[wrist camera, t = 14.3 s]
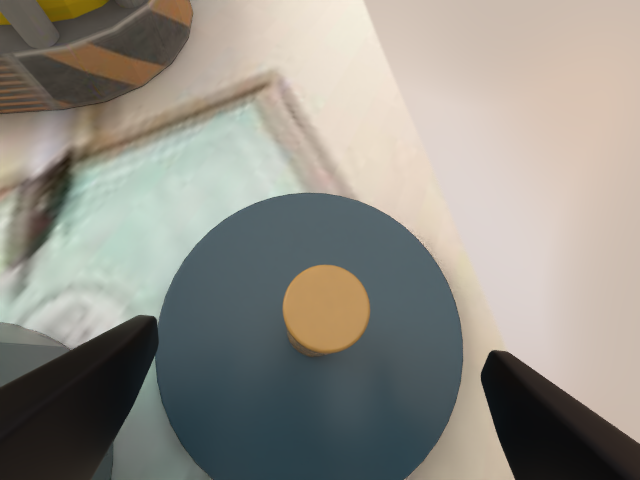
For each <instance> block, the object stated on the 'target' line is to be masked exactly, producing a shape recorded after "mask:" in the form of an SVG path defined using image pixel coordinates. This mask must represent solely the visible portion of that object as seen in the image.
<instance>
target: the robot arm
mask: <svg viewBox="0 0 640 480" xmlns="http://www.w3.org/2000/svg"><path fill="white" fill-rule="evenodd" d="M158 345H159V337H158V327H157V320H156V318H155V317H154V316H147V315H138V316H136V317H134V318H132V319H130V320H128V321H126V322H124V323H122V324H120V325H118V326H116V327H114V328H113V329H111V330H109V331H107V332H105V333H103V334H101V335H99V336H97V337H95V338H93V339H91V340H89V341H88V342H86V343H84V344H82V345H80V346H78V347H76V348H74V349H72V350H70V351H68V352H66V353H65V354H63V355H61V356H59V357H57V358H55V359H53V360H51V361H49V362H47V363H45V364H43V365H41V366H40V367H38V368H36V369H34V370H32V371H30V372H28V373H26V374H24V375H22V376H20V377H18V378H16V379H15V380H13V381H11V382H9V383H7V384H5V385H3V386H1V387H0V480H92V478H93V476H94V474H95V473H96V471H97V469H98V467H99V465H100V464H101V462H102V460H103V458H104V457H105V455H106V453H107V451H108V449H109V448H110V446H111V444H112V442H113V441H114V439H115V437H116V435H117V433H118V432H119V430H120V428H121V426H122V425H123V423H124V421H125V419H126V417H127V416H128V414H129V412H130V410H131V408H132V406H133V404H134V402H135V400H136V398H137V396H138V393H139V391H140V389H141V386H142V384H143V382H144V380H145V377H146V375H147V373H148V370H149V368H150V366H151V363H152V361H153V359H154V356H155V354H156V352H157V349H158ZM481 382H482V386H483V389H484V392H485V396H486V399H487V402H488V406H489V409H490V412H491V416H492V419H493V422H494V426H495V429H496V432H497V435H498V438H499V441H500V443H501V446H502V448H503V451H504V453H505V456H506V458H507V461H508V463H509V466H510V468H511V470H512V473H513V475H514V478H515V480H640V444H639V443H637V442H636V441H635V440H633V439H632V438H630V437H629V436H628V435H626V434H625V433H623V432H622V431H620V430H619V429H618V428H616V427H615V426H613V425H612V424H610V423H609V422H608V421H606V420H604V419H603V418H602V417H600V416H599V415H598V414H596V413H595V412H593V411H592V410H590V409H589V408H588V407H586V406H585V405H583V404H582V403H580V402H579V401H578V400H576V399H575V398H573V397H572V396H570V395H569V394H567V393H566V392H565V391H563V390H562V389H560V388H559V387H557V386H556V385H555V384H553V383H552V382H550V381H549V380H547V379H546V378H545V377H543V376H542V375H540V374H539V373H537V372H536V371H535V370H533V369H532V368H530V367H529V366H527V365H526V364H525V363H523V362H522V361H520V360H519V359H518V358H516V357H515V356H513V355H512V354H510V353H509V352H506V351H497V350H493V351H491V352H490V353H489V355H488V357H487V360H486V362H485V364H484V367H483V369H482V372H481Z"/></svg>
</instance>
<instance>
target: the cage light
mask: <svg viewBox="0 0 640 480" xmlns="http://www.w3.org/2000/svg"><path fill="white" fill-rule="evenodd" d="M192 16H193V11H192V7H191V3H190V0H0V113H14V112H29V111H44V110H59V109H67V108H73V107H78V106H84V105H89V104H94V103H100V102H105V101H108V100H110V99H113V98H115V97H117V96H120V95H122V94H124V93H127V92H129V91H131V90H133V89H136V88H138V87H140V86H143V85H144V84H146V83H147V82H148V81H149V80H151V79H152V78H153V77H155V76H156V75H157V74H158V73H160V72H161V71H162V70H163V69H165V68H166V67H167V66H169V65H170V64H171V63H172V62H173V60H174V59H175V57H176V56H177V54H178V53H179V51H180V50H181V48H182V47H183V45H184V44H185V42H186V41H187V39H188V37H189V32H190V27H191V22H192Z"/></svg>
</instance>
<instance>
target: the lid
mask: <svg viewBox="0 0 640 480" xmlns="http://www.w3.org/2000/svg"><path fill="white" fill-rule="evenodd" d="M158 337H159V345H158V349H157V352H156V354H155V361H156V372H157V382H158V386H159V390H160V395H161V399H162V403H163V406H164V408H165V411H166V414H167V416H168V419H169V421H170V424H171V426H172V428H173V430H174V431H175V433H176V435H177V437H178V439H179V440H180V442H181V444H182V445H183V447H184V448H185V449H186V451H187V452H188V453H189V455H190V456H191V457H192V458H193V460H194V461H195V462H196V464H197V465H198V466H199V467H200V468H202V469H203V470H204V471H205V472H206V473H207V474H208V475H209V476H210V477H211V478H212V479H213V480H404V479H405V478H406V477H408V476H409V475H410V474H411V473H412V472H413V471H414V470H415V469H416V468H417V467H418V466H419V465H420V464H421V463H422V462H423V461H424V459H425V458H426V457H427V455H428V454H429V453H430V451H431V450H432V449H433V447H434V446H435V444H436V443H437V442H438V440H439V438H440V436H441V434H442V432H443V431H444V429H445V427H446V425H447V423H448V421H449V418H450V416H451V413H452V410H453V408H454V405H455V403H456V399H457V395H458V390H459V386H460V382H461V374H462V364H463V339H462V332H461V325H460V319H459V315H458V311H457V307H456V303H455V300H454V298H453V295H452V292H451V290H450V287H449V285H448V283H447V281H446V279H445V277H444V275H443V273H442V271H441V269H440V268H439V266H438V264H437V263H436V262H435V260H434V259H433V257H432V256H431V254H430V253H429V251H428V250H427V249H426V248H425V247H424V246H423V245H422V244H421V242H420V241H419V240H418V239H417V238H416V237H415V236H414V235H413V234H412V233H411V232H409V231H408V230H407V229H406V228H405V227H404V226H403V225H401V224H400V223H398V222H397V221H396V220H394V219H393V218H391V217H390V216H389V215H387V214H385V213H383V212H381V211H379V210H378V209H376V208H374V207H372V206H369V205H367V204H364V203H362V202H359V201H357V200H353V199H349V198H346V197H342V196H337V195H330V194H324V193H298V194H288V195H283V196H278V197H273V198H270V199H267V200H264V201H260V202H257V203H255V204H253V205H250V206H248V207H246V208H244V209H242V210H240V211H238V212H236V213H235V214H233V215H231V216H230V217H228V218H226V219H225V220H223V221H222V222H221V223H220V224H218V225H217V226H216V227H215V228H213V229H212V230H211V231H210V232H209V233H208V234H207V235H206V236H205V237H204V238H203V239H202V240H201V241H200V242H199V243H198V244H197V245H196V246H195V247H194V248H193V250H192V251H191V252H190V253H189V255H188V256H187V257H186V259H185V260H184V261H183V263H182V265H181V266H180V268H179V270H178V271H177V273H176V275H175V276H174V278H173V281H172V283H171V285H170V287H169V290H168V292H167V294H166V297H165V300H164V303H163V306H162V310H161V313H160V317H159V323H158Z"/></svg>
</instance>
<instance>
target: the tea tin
mask: <svg viewBox="0 0 640 480" xmlns="http://www.w3.org/2000/svg"><path fill="white" fill-rule="evenodd" d="M68 351H70V350H69V349H68V348H67V347H66V346H64V345H63V344H61V343H59V342H58V341H56V340H54V339H52V338H50V337H49V336H46V335H43V334H41V333H38V332H35V331H33V330H28V329H25V328H23V327H21V326H19V325H15V324H9V323H2V322H0V387H1V386H3V385H5V384H7V383H9V382H11V381H13V380H15V379H16V378H18V377H20V376H22V375H24V374H26V373H28V372H30V371H32V370H34V369H36V368H38V367H40V366H41V365H43V364H45V363H47V362H49V361H51V360H53V359H55V358H57V357H59V356H61V355H63V354H65V353H66V352H68ZM112 464H113V442H112V444H111V446H110V448H109V449H108V451H107V453H106V455H105V457H104V458H103V460H102V462H101V464H100V465H99V467H98V469H97V471H96V473H95V474H94V476H93V478H92V480H110V479H111V472H112Z"/></svg>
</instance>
